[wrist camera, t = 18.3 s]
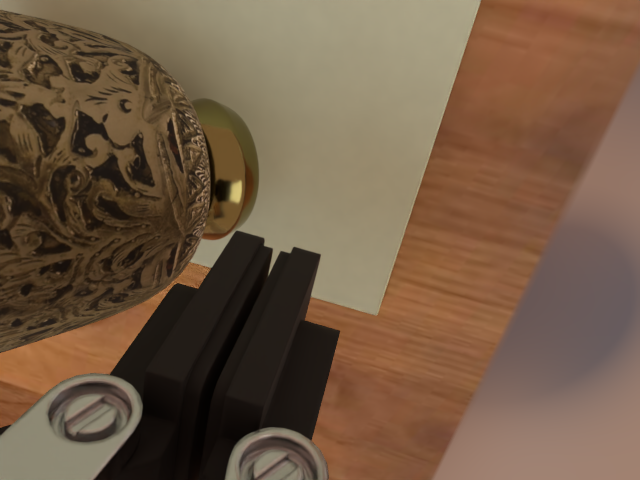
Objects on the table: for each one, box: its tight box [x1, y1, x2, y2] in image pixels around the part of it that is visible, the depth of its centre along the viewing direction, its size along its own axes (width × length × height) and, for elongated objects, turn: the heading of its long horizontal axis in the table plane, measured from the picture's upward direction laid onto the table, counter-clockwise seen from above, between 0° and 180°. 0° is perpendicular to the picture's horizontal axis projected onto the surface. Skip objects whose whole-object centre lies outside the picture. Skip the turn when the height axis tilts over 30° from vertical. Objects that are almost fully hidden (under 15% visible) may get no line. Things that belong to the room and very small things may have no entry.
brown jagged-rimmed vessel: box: [0, 10, 259, 353], centre depth 14 cm, size 8×7×8 cm
